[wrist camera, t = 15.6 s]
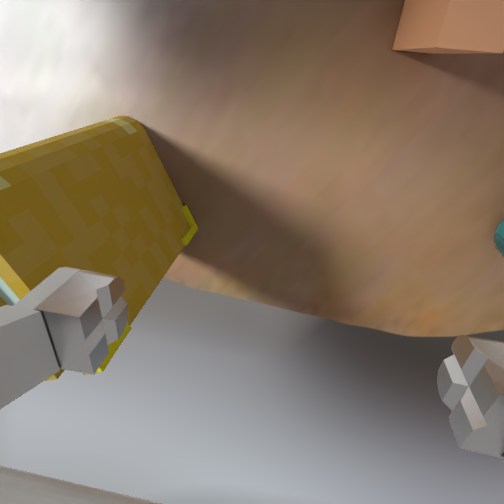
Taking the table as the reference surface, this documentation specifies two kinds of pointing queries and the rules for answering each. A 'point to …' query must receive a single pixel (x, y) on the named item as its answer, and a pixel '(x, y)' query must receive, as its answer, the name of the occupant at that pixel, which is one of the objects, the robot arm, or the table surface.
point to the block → (451, 27)
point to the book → (90, 213)
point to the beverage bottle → (500, 237)
